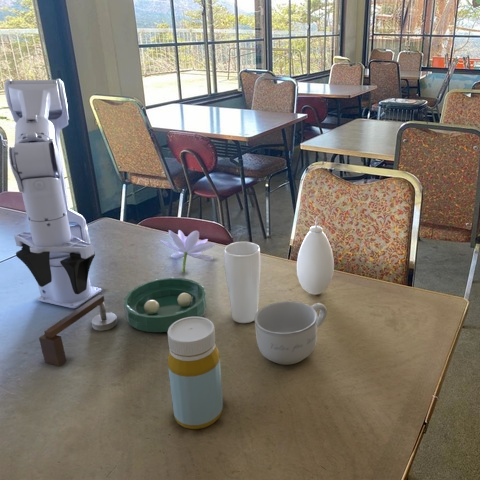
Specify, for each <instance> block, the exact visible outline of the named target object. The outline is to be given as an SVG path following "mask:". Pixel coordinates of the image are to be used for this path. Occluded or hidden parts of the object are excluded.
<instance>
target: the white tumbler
mask: <svg viewBox="0 0 480 480" xmlns="http://www.w3.org/2000/svg"><path fill="white" fill-rule="evenodd" d="M223 263H224V273H225V281H226V284H227V285H226V286H227V293H228V299H229V307H230V316H231V319H232V320H233V321H234V322H236V323H239V324H249V323H252V322H255V321H254V317H255V315H256V313H257V312H258V311H259V304H260V303H259V302H260V288H261V287H260V286H261V274H262V273H261V272H262V257H261V247H260V245H258V244H257V243H254V242H251V241H236V242H231V243H230V244H227V245H226V246H225V247H224V250H223Z"/></svg>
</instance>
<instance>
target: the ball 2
mask: <svg viewBox="0 0 480 480" xmlns="http://www.w3.org/2000/svg"><path fill="white" fill-rule="evenodd" d="M177 301H178V304H179V305H180V306H182V307H187V306H189V305H190V304H191V302H192V297H191V296H190V294H188V293H182V294H180V295H179V296H178V299H177Z"/></svg>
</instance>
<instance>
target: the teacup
mask: <svg viewBox="0 0 480 480" xmlns="http://www.w3.org/2000/svg"><path fill="white" fill-rule="evenodd" d="M327 309H328V308H327V307H326V306H325V305H324V304H323V303H321V302H317V303H313V304H312V305H309V304H307V303H303V302H300V301H295V300H284V301H275V302H272V303H269V304H266V305H265V306H263V307H261V308H260V309H258V312H257V313H256V315H255V317H254V321H253V322H254V325H255V334H256V343H257V347H258V350H259V351H260V353H261V355H262V356H263V357H264V358H266V359H267V360H269V361H271V362H273V363H276V364H278V365H287V366H288V365H294V364H297V363H300V362H301V361H303V360H305V359H306V358H308V357H309V356H311V354H312V353H313V352H314V350H315V348H316V345H317V340H318V329H319V328H320V327H321V325H322V324H324V322H325V320H326V318H327V315H328V310H327ZM318 311H319V314H318V313H317V312H318Z"/></svg>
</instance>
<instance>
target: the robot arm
mask: <svg viewBox="0 0 480 480" xmlns="http://www.w3.org/2000/svg"><path fill="white" fill-rule="evenodd" d="M3 86H4V87H3V88H4V94H5V99H6V103H7V106H8V110H9V112H10V113H11V116H12V119H13V122H14V123H15V126H14V128H15V130H14V146H12V147H11V146H9V147H8V160H9V165H10V169H11V172H12V174H13V177H14V178H15V181H16V185H17V188H18V191H19V193H21V196H22V200H23V204H24V209H25V214H26V218H27V222H28V225H29V230H30V231H29V232H27V231H22V232H20V233H17V234H15V235H14V236H13V238H14V241H15V245H16V247H19V248H20V247H21V249H20V250H18V251H16V252H15V256H16V258H17V259H19V260H20V261H21V262H22V263H23V264H24V265H25V266H26V267H27V269H28V270H29V272H30V273H31V274H32V276H33V278H34V280H35V281H36V283H37V286H38V291H39V295H40V296H39V297H37V301H38V302H43V303H47V304H52V305H55V306H61V307H64V308H69V309H78V308H79V307H81V306H82V305H84V304H85V302H86V303H87V302H88V301H90V300H91V299H93V298H94V297H96V296H97V295H99V293H100V292H102V288H100V287H96V286H92V283H91V279H90V274H89V272H90V268H91V265H92V264H93V261H94V258H95V257H96V252H95V251H94V250H95V249H94V245H93V243H91V240H90V239H91V238H90V233H89V229H88V226H87V221H86V219H85V217H84V216H83V215H82V214H80V213H78V212H76V211H74V210H72V209H70V206H69V201H68V193H67V187H66V181H65V173H64V168H63V161H62V155H61V150H60V134H61V130H62V129H64V128H66V127H67V126H69V120H70V117H69V116H70V115H69V110H68V107H69V106H68V102H67V101H68V100H67V95H66V89H65V83H64V81H63V80H61V78H56V79H9V78H8V79H6V81H5V82H4V85H3Z"/></svg>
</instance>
